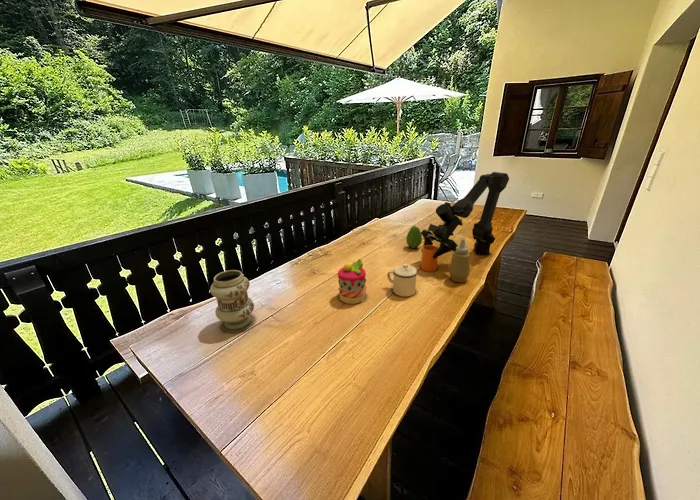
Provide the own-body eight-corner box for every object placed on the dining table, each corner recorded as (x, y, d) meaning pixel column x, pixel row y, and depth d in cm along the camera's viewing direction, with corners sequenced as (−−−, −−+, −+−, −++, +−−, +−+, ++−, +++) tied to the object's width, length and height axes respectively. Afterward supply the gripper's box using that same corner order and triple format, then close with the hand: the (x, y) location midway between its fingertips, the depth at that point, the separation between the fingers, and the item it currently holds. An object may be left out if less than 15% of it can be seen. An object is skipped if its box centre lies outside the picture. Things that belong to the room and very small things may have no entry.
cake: (346, 307, 108) (345, 269, 102) (334, 293, 117) (332, 258, 111) (371, 299, 113) (371, 263, 107) (357, 287, 121) (357, 253, 116)
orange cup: (434, 264, 139) (436, 244, 135) (438, 271, 133) (440, 250, 129) (419, 264, 140) (421, 244, 136) (422, 271, 133) (424, 250, 129)
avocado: (414, 251, 154) (416, 229, 150) (403, 247, 160) (404, 226, 155) (424, 247, 159) (425, 225, 155) (412, 243, 165) (413, 222, 160)
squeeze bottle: (469, 284, 121) (476, 243, 114) (449, 283, 123) (453, 242, 116) (466, 275, 128) (472, 236, 122) (447, 274, 130) (451, 235, 123)
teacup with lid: (419, 289, 119) (421, 262, 114) (409, 299, 112) (411, 271, 107) (392, 281, 125) (393, 256, 121) (381, 290, 118) (382, 264, 114)
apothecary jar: (227, 312, 107) (218, 267, 100) (261, 312, 106) (253, 266, 99) (212, 334, 95) (200, 284, 89) (249, 334, 95) (240, 284, 88)
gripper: (425, 212, 137) (404, 239, 136) (456, 222, 121) (433, 253, 121) (436, 225, 143) (417, 251, 143) (467, 237, 128) (446, 266, 127)
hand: (427, 255), depth 133 cm, fingers closed on orange cup, 7 cm apart
